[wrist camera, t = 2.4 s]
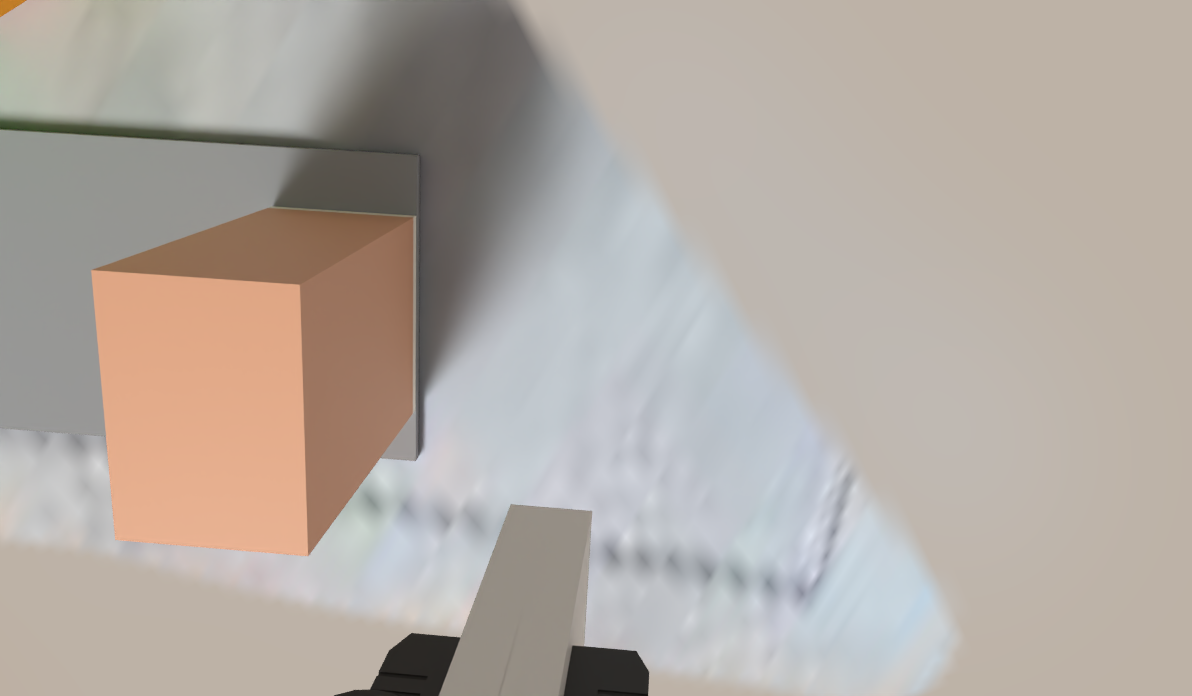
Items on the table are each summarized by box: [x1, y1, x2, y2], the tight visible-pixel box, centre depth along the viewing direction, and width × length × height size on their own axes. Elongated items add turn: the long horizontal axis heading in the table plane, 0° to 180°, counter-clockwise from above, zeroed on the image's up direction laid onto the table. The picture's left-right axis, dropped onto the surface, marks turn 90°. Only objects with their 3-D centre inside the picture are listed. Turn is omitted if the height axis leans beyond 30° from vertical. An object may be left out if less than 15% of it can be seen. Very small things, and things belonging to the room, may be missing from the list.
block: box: [91, 206, 416, 556], centre depth 29 cm, size 7×5×11 cm
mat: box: [0, 129, 420, 461], centre depth 35 cm, size 11×16×1 cm
